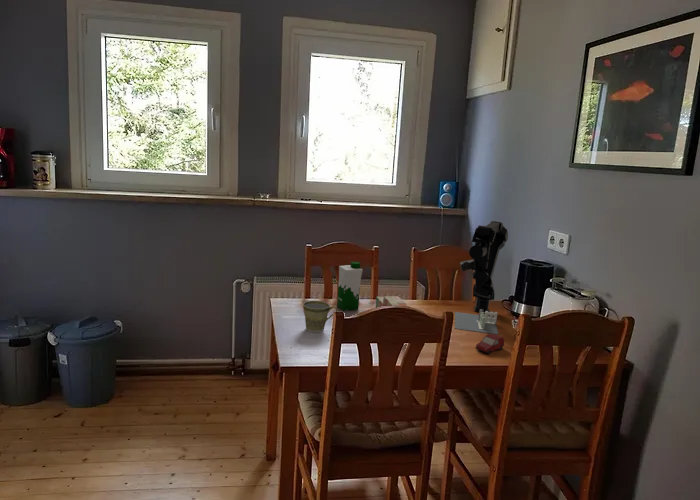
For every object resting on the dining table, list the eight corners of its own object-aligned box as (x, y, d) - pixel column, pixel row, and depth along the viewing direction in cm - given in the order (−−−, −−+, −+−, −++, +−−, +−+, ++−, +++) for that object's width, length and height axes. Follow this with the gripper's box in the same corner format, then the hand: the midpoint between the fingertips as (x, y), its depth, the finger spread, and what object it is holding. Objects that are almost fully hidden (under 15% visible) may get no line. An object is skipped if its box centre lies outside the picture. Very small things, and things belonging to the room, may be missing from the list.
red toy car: (473, 351, 191) (475, 337, 190) (491, 344, 199) (493, 332, 198) (487, 356, 187) (489, 342, 186) (505, 349, 195) (506, 336, 194)
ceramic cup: (302, 334, 193) (304, 308, 191) (300, 324, 202) (302, 300, 200) (337, 335, 195) (339, 309, 193) (334, 325, 204) (336, 301, 202)
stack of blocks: (374, 317, 218) (376, 289, 215) (388, 317, 219) (391, 289, 217) (390, 337, 198) (393, 305, 195) (405, 336, 199) (409, 305, 197)
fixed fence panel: (478, 322, 222) (479, 310, 221) (478, 321, 224) (479, 309, 223) (495, 324, 221) (497, 312, 220) (495, 323, 223) (497, 311, 222)
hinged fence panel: (479, 321, 221) (480, 311, 221) (482, 322, 221) (483, 312, 220) (481, 328, 214) (482, 317, 213) (484, 328, 214) (485, 318, 213)
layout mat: (454, 312, 233) (454, 311, 233) (494, 317, 231) (494, 316, 231) (455, 328, 212) (455, 328, 212) (498, 334, 209) (498, 334, 209)
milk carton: (361, 310, 226) (365, 265, 222) (341, 311, 222) (345, 265, 218) (352, 303, 233) (356, 260, 229) (333, 305, 230) (337, 260, 226)
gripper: (462, 249, 233) (457, 283, 236) (462, 257, 215) (458, 294, 218) (487, 252, 231) (483, 286, 234) (490, 261, 213) (485, 297, 216)
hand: (477, 291), depth 226 cm, fingers closed
